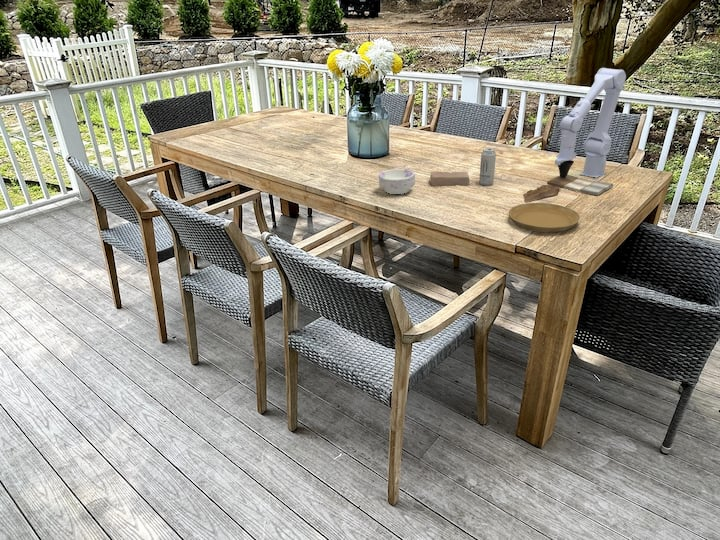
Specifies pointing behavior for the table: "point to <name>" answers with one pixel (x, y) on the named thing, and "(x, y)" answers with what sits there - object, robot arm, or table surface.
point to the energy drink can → (487, 166)
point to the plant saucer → (544, 217)
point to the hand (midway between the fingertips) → (563, 177)
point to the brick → (449, 178)
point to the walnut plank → (561, 181)
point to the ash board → (578, 184)
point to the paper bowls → (397, 180)
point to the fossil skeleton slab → (541, 193)
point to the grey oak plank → (596, 188)
